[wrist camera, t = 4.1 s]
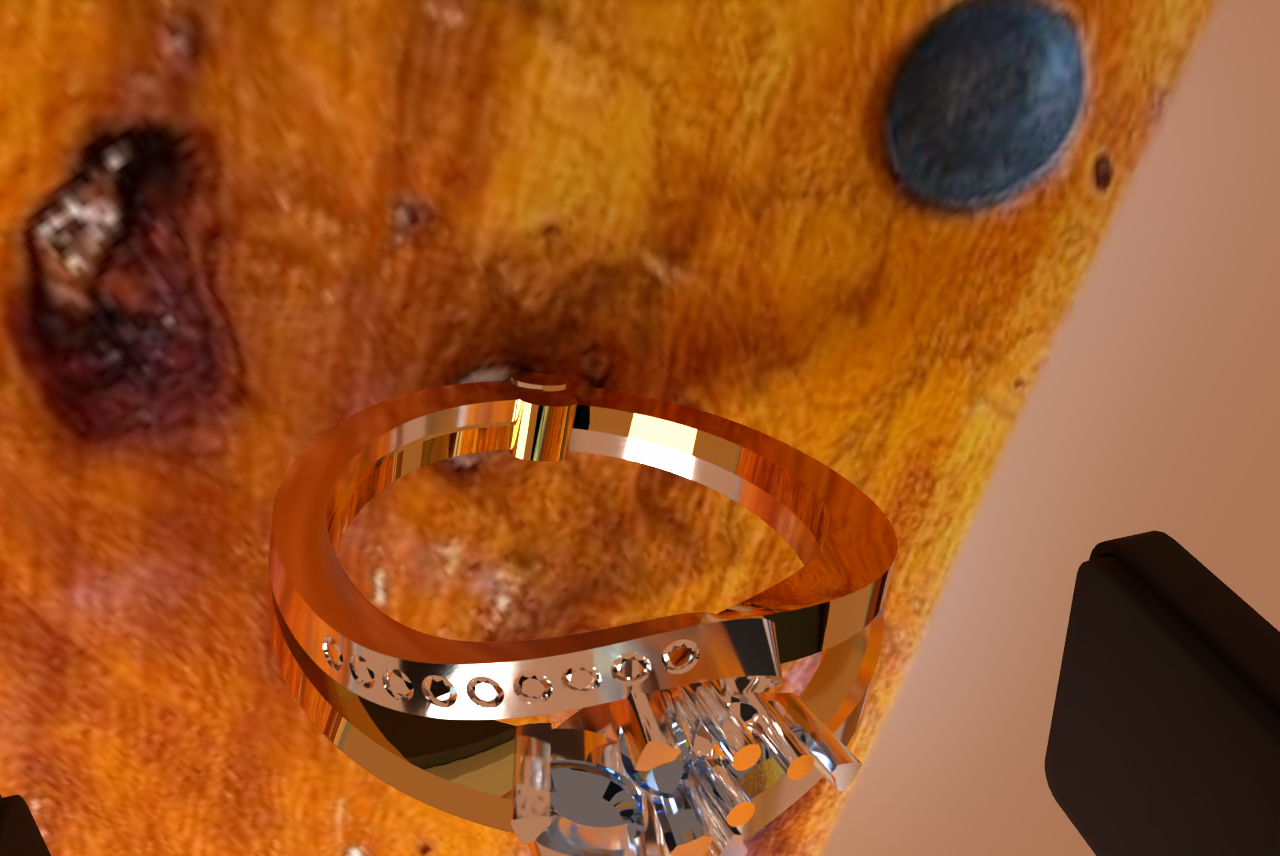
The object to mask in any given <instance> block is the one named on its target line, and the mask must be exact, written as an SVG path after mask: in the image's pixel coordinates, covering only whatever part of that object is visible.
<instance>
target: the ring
mask: <svg viewBox="0 0 1280 856" xmlns="http://www.w3.org/2000/svg"><path fill="white" fill-rule="evenodd" d="M568 384H569V380H568V379H566V378H564V377H561V376H558V375H553V374H547V373H537V372H523V373H516V374H513V375H512V376H511V381H493V382H477V383H465V384H457V385H449V386H443V387H437V388H431V389H426V390H421V391H417V392H413V393H409V394H405V395H402V396H398V397H395V398H392V399H389V400H386V401H383V402H381V403H378V404H375V405H373V406H371V407H368V408H366V409H364V410H362V411H359V412H357V413H355V414H353V415H352V416H350V417H348V418H346V419H344V420H343V421H341V422H339V423H338V424H336V425H335V426H333V427H332V428H330V429H329V430H327V431H326V432H324V433H323V434H322V435H321V436H319V437H318V438H317V439H316V440H314V441H313V442H312V443H311V444H310V445H309V446H308V447H307V448H306V449H305V450H304V451H303V452H302V453H301V454H300V455H299V456H298V457H297V459H296V460H295V461H294V462H293V464H292V465H291V466H290V468H289V469H288V471H287V472H286V474H285V476H284V478H283V479H282V481H281V484H280V486H279V488H278V491H277V494H276V497H275V501H274V506H273V514H272V524H271V535H270V546H269V574H270V580H269V624H270V632H271V637H272V642H273V646H274V650H275V654H276V657H277V660H278V663H279V666H280V668H281V671H282V673H283V675H284V677H285V679H286V682H287V684H288V685H289V687H290V689H291V691H292V693H293V694H294V696H295V698H296V699H297V701H298V702H299V704H300V705H301V707H302V708H303V710H304V711H305V712H306V714H307V715H308V716H309V718H310V719H311V720H312V721H313V722H314V724H315V725H316V726H317V727H318V728H319V729H320V730H321V732H322V733H323V734H324V735H325V736H326V737H327V738H328V739H329V740H330V741H331V742H332V743H333V744H334V745H336V746H337V747H338V748H339V749H340V750H341V751H342V752H343V753H345V754H346V755H347V756H348V757H349V758H351V759H352V760H353V761H354V762H356V763H357V764H358V765H360V766H361V767H362V768H364V769H365V770H367V771H368V772H370V773H371V774H373V775H374V776H376V777H377V778H379V779H380V780H382V781H384V782H385V783H387V784H389V785H390V786H392V787H394V788H396V789H397V790H399V791H401V792H403V793H405V794H407V795H409V796H411V797H413V798H415V799H417V800H419V801H421V802H423V803H425V804H428V805H430V806H432V807H434V808H437V809H439V810H442V811H444V812H447V813H449V814H452V815H455V816H457V817H460V818H463V819H466V820H469V821H472V822H475V823H478V824H482V825H485V826H489V827H492V828H496V829H500V830H503V831H507V832H512V833H515V834H516V835H517V837H518V838H519V840H520V841H521V843H522V844H527V845H528V847H529V849H530V850H531V852H532V853H533V854H534V856H745V855H746V853H747V851H748V850H747V849H746V848H745V846H744V843H743V841H745V840H746V839H747V838H749V837H750V836H752V835H753V834H755V833H756V832H757V831H759V830H760V829H761V828H763V827H764V826H765V825H767V824H768V823H769V822H771V821H772V820H773V819H775V818H776V817H777V816H778V815H780V814H781V813H782V812H783V811H785V810H786V809H787V808H788V807H790V806H791V805H792V804H793V803H794V802H795V801H797V800H798V799H799V798H800V797H801V796H802V795H804V794H805V793H806V792H807V791H808V790H809V789H810V788H811V787H812V786H813V785H814V784H816V783H817V782H818V781H819V780H820V779H821V778H822V776H824V777H825V778H826V779H827V780H828V781H829V782H830V783H831V784H832V785H833V787H834V788H835V789H836V790H838V791H845V790H846V788H847V787H848V786H849V784H850V783H851V782H852V780H853V779H854V777H855V776H856V774H857V773H858V771H859V770H860V768H861V766H862V764H861V762H860V761H859V760H858V759H857V758H856V757H855V756H854V755H853V754H852V753H851V752H850V751H849V750H848V749H847V748H846V746H847V745H848V743H849V741H850V740H851V738H852V736H853V734H854V732H855V730H856V728H857V726H858V724H859V722H860V719H861V716H862V714H863V710H864V707H865V704H866V701H867V697H868V694H869V690H870V687H871V684H872V680H873V677H874V674H875V670H876V667H877V664H878V660H879V656H880V652H881V647H882V640H883V628H884V617H883V604H884V601H885V598H886V594H887V590H888V586H889V582H890V578H891V574H892V570H893V566H894V562H895V558H896V554H897V538H896V534H895V532H894V529H893V527H892V525H891V523H890V522H889V520H888V519H887V517H886V516H885V514H884V513H883V512H882V511H881V510H880V508H879V507H878V506H877V505H876V504H875V503H874V502H873V501H872V500H871V499H870V498H869V497H868V496H867V495H865V494H864V493H863V492H862V491H861V490H860V489H858V488H857V487H856V486H855V485H853V484H852V483H851V482H849V481H848V480H847V479H845V478H844V477H842V476H841V475H840V474H838V473H837V472H835V471H834V470H832V469H830V468H829V467H827V466H826V465H824V464H822V463H821V462H819V461H817V460H816V459H814V458H812V457H811V456H809V455H807V454H805V453H803V452H801V451H800V450H798V449H796V448H794V447H792V446H790V445H788V444H786V443H784V442H782V441H779V440H777V439H775V438H773V437H771V436H768V435H766V434H764V433H762V432H759V431H757V430H754V429H752V428H749V427H747V426H744V425H742V424H739V423H736V422H734V421H731V420H728V419H725V418H722V417H719V416H716V415H713V414H710V413H707V412H704V411H701V410H697V409H694V408H690V407H687V406H683V405H679V404H676V403H672V402H668V401H664V400H659V399H655V398H650V397H646V396H641V395H636V394H631V393H625V392H620V391H614V390H607V389H601V388H593V387H586V386H577V385H568ZM508 449H509V452H510V454H511V455H513V456H515V457H517V458H521V459H525V460H532V461H559V460H563V459H565V458H567V456H568V451H576V452H585V453H593V454H599V455H605V456H611V457H616V458H621V459H626V460H631V461H635V462H639V463H643V464H646V465H650V466H654V467H657V468H660V469H663V470H666V471H669V472H672V473H675V474H678V475H681V476H683V477H686V478H688V479H691V480H693V481H696V482H698V483H700V484H703V485H705V486H707V487H709V488H711V489H713V490H715V491H717V492H719V493H721V494H723V495H725V496H727V497H728V498H730V499H732V500H734V501H735V502H737V503H739V504H740V505H742V506H743V507H745V508H747V509H748V510H749V511H751V512H752V513H754V514H755V515H757V516H758V517H759V518H761V519H762V520H763V521H765V522H766V523H767V524H768V525H769V526H771V527H772V528H773V529H774V530H775V531H776V532H777V533H778V534H779V535H780V536H781V537H782V538H783V539H784V540H785V541H786V542H787V543H788V544H789V545H790V546H791V547H792V549H793V550H794V551H795V553H796V554H797V555H798V557H799V558H800V559H801V561H802V563H803V564H804V567H803V568H801V569H800V570H798V571H797V572H796V573H794V574H793V575H791V576H789V577H788V578H786V579H785V580H783V581H781V582H780V583H778V584H776V585H774V586H773V587H771V588H769V589H767V590H765V591H763V592H761V593H759V594H757V595H756V596H754V597H752V598H750V599H747V600H745V601H743V602H741V603H739V604H737V605H735V606H733V607H731V608H728V609H726V610H724V611H722V612H720V613H718V614H713V613H705V612H697V613H685V614H678V615H672V616H666V617H661V618H656V619H651V620H646V621H641V622H637V623H632V624H627V625H622V626H617V627H612V628H607V629H602V630H597V631H591V632H586V633H580V634H574V635H567V636H561V637H553V638H546V639H537V640H527V641H514V642H467V641H457V640H450V639H444V638H440V637H435V636H431V635H428V634H425V633H422V632H419V631H416V630H414V629H411V628H409V627H406V626H404V625H402V624H400V623H399V622H397V621H395V620H393V619H392V618H390V617H388V616H387V615H385V614H384V613H383V612H381V611H380V610H379V609H377V608H376V607H375V606H374V605H373V604H372V603H370V602H369V601H368V600H367V599H366V598H365V597H364V596H363V595H362V593H361V592H360V591H359V590H358V589H357V588H356V586H355V585H354V584H353V583H352V581H351V580H350V579H349V577H348V576H347V574H346V573H345V571H344V569H343V568H342V566H341V564H340V563H339V561H338V559H337V557H336V553H337V550H338V548H339V545H340V542H341V540H342V538H343V536H344V534H345V532H346V530H347V528H348V527H349V525H350V523H351V522H352V520H353V519H354V518H355V516H356V515H357V514H358V512H359V511H360V510H361V509H362V508H363V506H364V505H365V504H366V503H367V502H368V501H369V500H370V499H371V498H372V497H374V496H375V495H376V494H377V493H378V492H379V491H381V490H382V489H383V488H385V487H386V486H387V485H389V484H390V483H392V482H393V481H395V480H397V479H398V478H400V477H402V476H404V475H406V474H407V473H409V472H412V471H414V470H416V469H418V468H421V467H423V466H426V465H428V464H431V463H434V462H437V461H440V460H444V459H447V458H451V457H455V456H460V455H465V454H470V453H477V452H484V451H494V450H508ZM821 651H822V654H821V662H820V665H819V667H818V669H817V671H816V673H815V674H814V676H813V678H812V679H811V681H810V683H809V684H808V685H807V687H806V688H805V690H804V691H803V692H802V694H801V695H800V696H799V697H797V695H796V694H793V693H779V694H772V695H771V697H770V699H769V701H767V700H766V699H765V697H764V696H763V695H762V694H761V693H762V692H764V691H766V690H768V689H770V688H772V687H774V686H776V685H777V684H779V683H780V682H781V681H782V673H781V665H780V664H781V663H785V662H789V661H793V660H796V659H800V658H803V657H806V656H809V655H812V654H815V653H818V652H821ZM580 708H582V709H581V710H580V711H578V712H577V713H575V714H574V715H572V716H571V717H570V718H568V719H567V720H566V721H564V722H563V723H562V724H561V725H560V726H558V727H557V728H556V729H552V726H551V723H537V724H527V725H520V726H513V725H510V724H506V723H502V722H499V721H495V720H492V719H507V718H519V717H528V716H536V715H544V714H551V713H557V712H564V711H569V710H575V709H580Z"/></svg>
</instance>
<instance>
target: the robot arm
mask: <svg viewBox="0 0 1280 856" xmlns="http://www.w3.org/2000/svg"><path fill="white" fill-rule="evenodd" d="M1045 773H1046V778H1047V782H1048V785H1049V788H1050V790H1051V792H1052V795H1053V796H1054V798H1055V800H1056V801H1057V803H1058V804H1059V806H1060V807H1061V808H1062V809H1063V811H1064V812H1065V814H1066V815H1067V816H1068V818H1069V819H1070V821H1071V822H1072V823H1073V824H1074V826H1075V827H1076V829H1077V830H1078V831H1079V833H1080V834H1081V835H1082V837H1083V838H1084V839H1085V841H1086V842H1087V844H1088V845H1089V846H1090V848H1091V849H1092V850H1093V852H1094V853H1095V854H1096V856H1280V632H1279V631H1278V630H1277V629H1276V628H1274V627H1273V626H1272V625H1271V624H1270V623H1269V622H1268V621H1266V620H1265V619H1264V618H1263V617H1262V616H1261V615H1260V614H1258V613H1257V612H1256V611H1255V610H1254V609H1253V608H1252V607H1250V606H1249V605H1248V604H1247V603H1246V602H1245V601H1244V600H1242V599H1241V598H1240V597H1239V596H1238V595H1237V594H1236V593H1235V592H1233V591H1232V590H1231V589H1230V588H1229V587H1228V586H1227V585H1225V584H1224V583H1223V582H1222V581H1221V580H1220V579H1219V578H1217V577H1216V576H1215V575H1214V574H1213V573H1212V572H1210V571H1209V570H1208V569H1207V568H1206V567H1205V566H1204V565H1203V564H1201V563H1200V562H1199V561H1198V560H1197V559H1196V558H1195V557H1193V556H1192V555H1191V554H1190V553H1189V552H1188V551H1187V550H1186V549H1184V548H1183V547H1182V546H1181V545H1180V544H1179V543H1178V542H1176V541H1175V540H1174V539H1173V538H1171V537H1170V536H1168V535H1167V534H1165V533H1163V532H1159V531H1151V532H1146V533H1142V534H1137V535H1132V536H1127V537H1123V538H1118V539H1113V540H1109V541H1104V542H1101V543H1098V544H1097V545H1096V546H1095V548H1094V549H1093V550H1092V553H1091V556H1090V559H1089V561H1086V562H1083V563H1082V564H1081V566H1080V567H1079V569H1078V573H1077V577H1076V583H1075V589H1074V594H1073V600H1072V606H1071V612H1070V617H1069V624H1068V629H1067V636H1066V641H1065V647H1064V653H1063V658H1062V664H1061V670H1060V676H1059V682H1058V687H1057V693H1056V700H1055V705H1054V711H1053V716H1052V722H1051V729H1050V734H1049V740H1048V746H1047V751H1046V757H1045ZM0 856H51V855H50V853H49V851H48V849H47V846H46V844H45V842H44V840H43V838H42V836H41V834H40V831H39V829H38V827H37V825H36V823H35V821H34V819H33V816H32V814H31V812H30V810H29V808H28V806H27V804H26V802H25V801H24V799H23V798H22V797H20V796H19V795H14V796H9V797H4V798H2V797H1V795H0Z"/></svg>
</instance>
